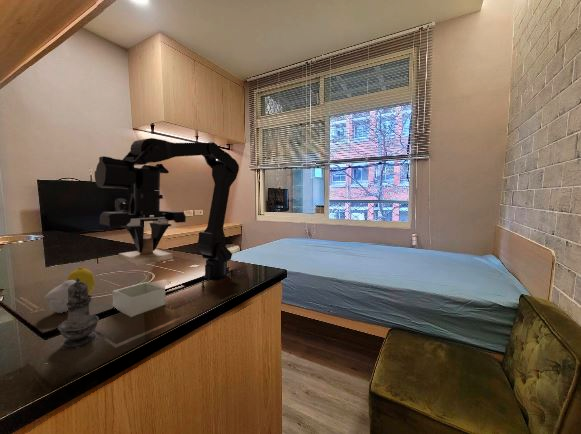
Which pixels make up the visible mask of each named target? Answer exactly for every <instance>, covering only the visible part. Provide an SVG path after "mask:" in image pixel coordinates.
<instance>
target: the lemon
mask: <svg viewBox="0 0 581 434" xmlns="http://www.w3.org/2000/svg"><path fill="white" fill-rule="evenodd" d="M77 278H79V279H80V280H79V282H84V283H86V284H87V286H88V294H89V293H91V292H92V291H93V289H94V287H95V283H96V280H95V276H94V274H93V271H91V270H89V269H88V268H84V267H81V266H80V267H78V268H77V269H74V270H73V271H72V272H70V274H69V275H68V277H67V280H66V281H68V280H74V281H75V280H76V279H77Z"/></svg>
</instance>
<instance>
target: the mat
mask: <svg viewBox="0 0 581 434" xmlns="http://www.w3.org/2000/svg"><path fill="white" fill-rule="evenodd" d="M171 282H173V280H172V281H171V280H169V279H165V278H163V279H159V280H156V281H152V282H151V283H152V284H154V285H157V286H160V287H162V288H165V286H166V285H169V284H171ZM180 285H181V286H178V287H175V288H172V289H169V290H167V291H165V294H166V293H167V292H168V293H169V292H172V291H174V290H178V289H181V288H183V287H185V285H182V284H180Z"/></svg>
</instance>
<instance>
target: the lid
mask: <svg viewBox="0 0 581 434" xmlns="http://www.w3.org/2000/svg"><path fill="white" fill-rule="evenodd" d="M118 259H121V260H123V261H126V262H128V263H132V264H134V265H137V266H138V265H143V264H149V263H154V262H160V261H161V262H162V261H165V260H170V259H171V260H172V259H174V253H172V252H168V251H164V250H161V249H157V248H156V249H155V251H153V238H152V237H151V236H147V237H146V236H143V248H142V252H141V253H139V252H138V251H137V250H134V251H126V252H120V253H118Z"/></svg>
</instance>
